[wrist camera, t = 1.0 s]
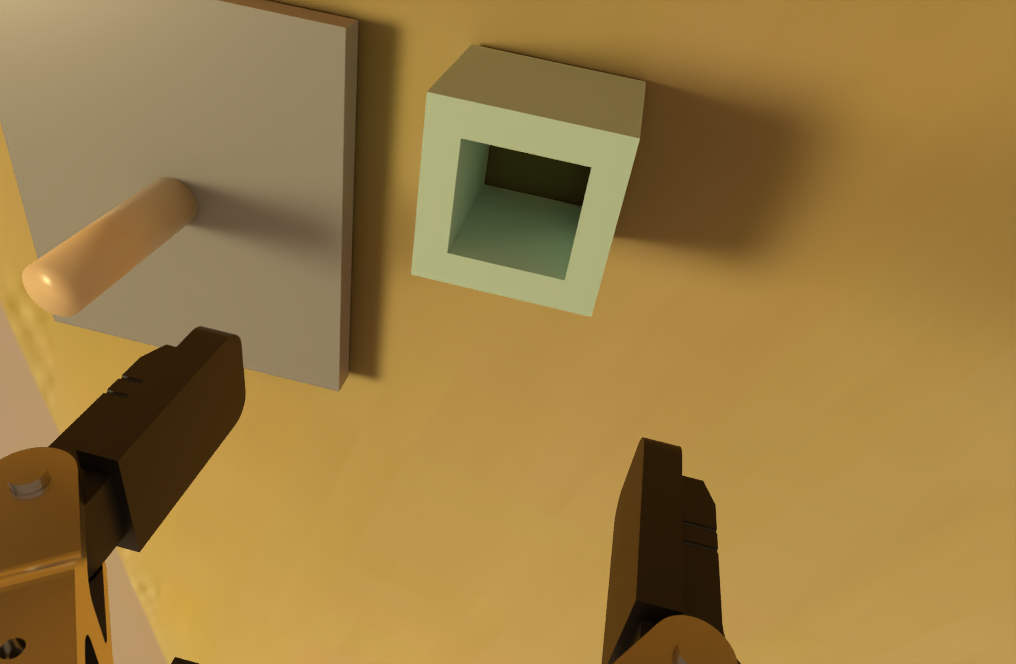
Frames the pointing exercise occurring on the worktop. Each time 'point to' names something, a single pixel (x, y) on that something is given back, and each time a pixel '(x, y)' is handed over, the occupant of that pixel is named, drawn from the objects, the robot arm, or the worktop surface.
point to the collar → (514, 215)
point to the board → (188, 171)
